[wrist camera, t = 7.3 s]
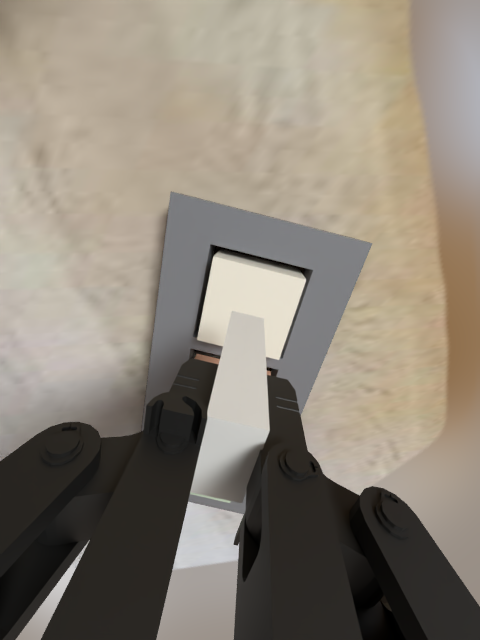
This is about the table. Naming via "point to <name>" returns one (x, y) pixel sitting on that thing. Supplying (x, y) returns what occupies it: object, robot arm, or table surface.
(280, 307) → the cream square block
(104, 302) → the table surface
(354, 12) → the table surface
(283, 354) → the keypad board
